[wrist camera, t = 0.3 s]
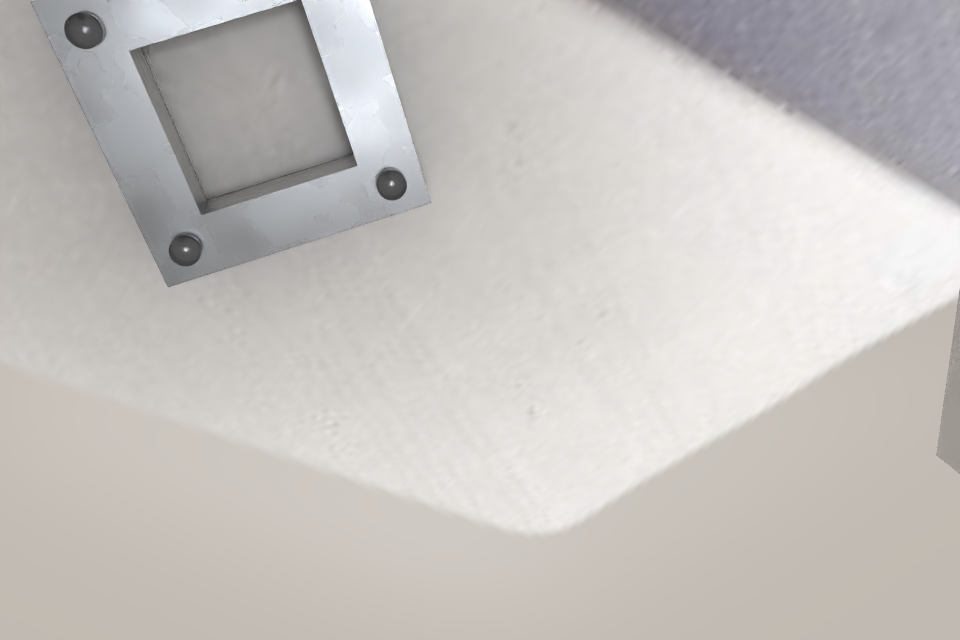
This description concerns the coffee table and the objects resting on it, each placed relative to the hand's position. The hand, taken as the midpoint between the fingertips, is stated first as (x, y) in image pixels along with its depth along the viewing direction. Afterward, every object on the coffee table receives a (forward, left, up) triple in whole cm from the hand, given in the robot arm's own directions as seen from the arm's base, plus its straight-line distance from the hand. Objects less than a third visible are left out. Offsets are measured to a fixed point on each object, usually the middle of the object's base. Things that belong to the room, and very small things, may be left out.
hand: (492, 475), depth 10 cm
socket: (-2, -4, -27) cm, 27 cm away
